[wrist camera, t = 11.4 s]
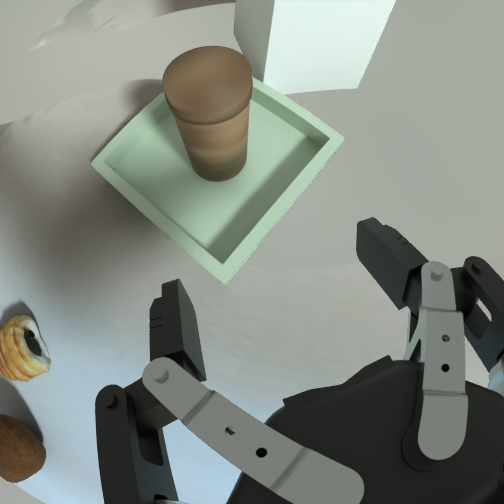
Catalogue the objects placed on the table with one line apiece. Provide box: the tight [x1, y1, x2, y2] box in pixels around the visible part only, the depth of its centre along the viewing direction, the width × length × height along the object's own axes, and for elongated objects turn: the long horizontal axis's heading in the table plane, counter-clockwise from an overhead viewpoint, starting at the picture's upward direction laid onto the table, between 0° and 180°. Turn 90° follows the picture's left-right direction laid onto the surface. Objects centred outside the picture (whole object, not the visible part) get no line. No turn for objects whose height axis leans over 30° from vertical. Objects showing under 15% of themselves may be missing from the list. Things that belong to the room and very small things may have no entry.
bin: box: [90, 77, 345, 285], centre depth 24 cm, size 16×16×3 cm
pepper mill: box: [163, 46, 253, 182], centre depth 19 cm, size 5×5×11 cm
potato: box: [0, 414, 46, 483], centre depth 16 cm, size 7×10×8 cm
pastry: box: [0, 314, 51, 382], centre depth 20 cm, size 9×7×4 cm
